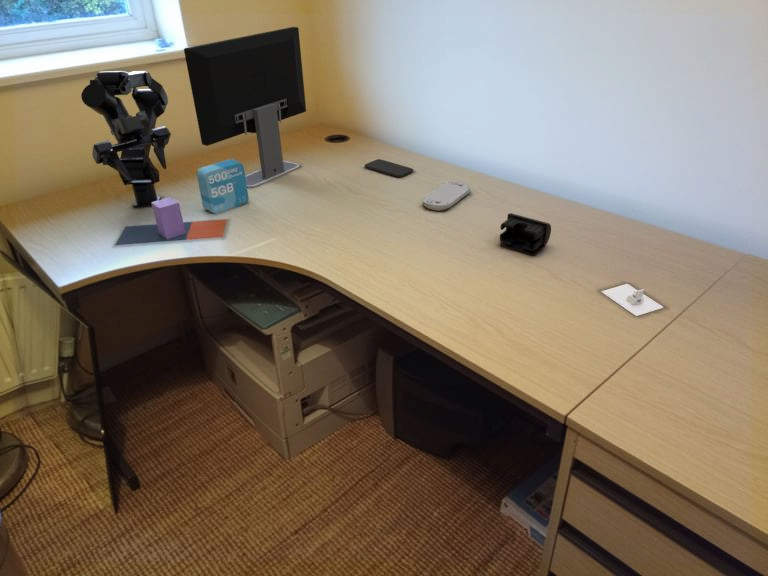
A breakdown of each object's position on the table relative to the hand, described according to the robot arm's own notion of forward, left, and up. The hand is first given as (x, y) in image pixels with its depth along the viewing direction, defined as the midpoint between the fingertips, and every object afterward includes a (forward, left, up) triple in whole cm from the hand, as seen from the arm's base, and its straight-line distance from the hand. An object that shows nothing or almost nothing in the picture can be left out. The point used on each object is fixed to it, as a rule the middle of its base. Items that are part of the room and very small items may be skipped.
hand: (148, 173), depth 147 cm
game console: (-3, +77, -14) cm, 79 cm away
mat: (+5, +4, -14) cm, 16 cm away
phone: (-29, +64, -14) cm, 72 cm away
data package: (-9, +16, -14) cm, 23 cm away
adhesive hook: (+53, +103, -14) cm, 117 cm away
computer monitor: (-32, +26, -14) cm, 44 cm away
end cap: (+27, +89, -14) cm, 94 cm away
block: (+6, +4, -14) cm, 16 cm away
